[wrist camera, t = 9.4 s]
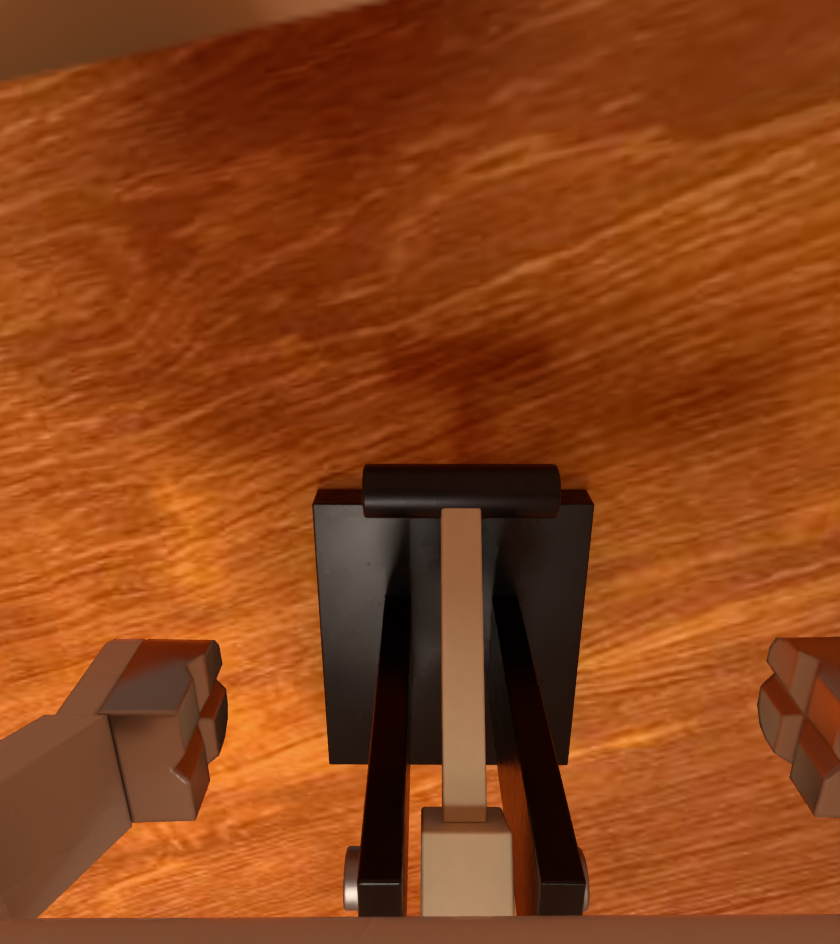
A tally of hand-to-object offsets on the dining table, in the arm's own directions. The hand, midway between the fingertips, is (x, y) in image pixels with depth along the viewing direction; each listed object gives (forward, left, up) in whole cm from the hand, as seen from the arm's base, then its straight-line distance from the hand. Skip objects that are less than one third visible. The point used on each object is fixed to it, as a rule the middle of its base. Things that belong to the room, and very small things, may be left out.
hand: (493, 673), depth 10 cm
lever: (+6, 0, -8) cm, 10 cm away
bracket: (+9, 0, -15) cm, 18 cm away
